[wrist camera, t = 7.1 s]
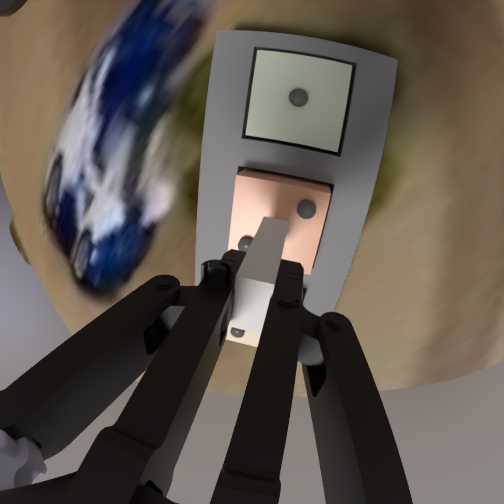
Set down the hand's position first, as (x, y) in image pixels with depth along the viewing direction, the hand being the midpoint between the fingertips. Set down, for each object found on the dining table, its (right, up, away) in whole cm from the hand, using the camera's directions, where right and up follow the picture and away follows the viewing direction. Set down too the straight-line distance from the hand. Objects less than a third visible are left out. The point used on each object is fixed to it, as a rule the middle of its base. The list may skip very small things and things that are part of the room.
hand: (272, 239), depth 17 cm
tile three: (+1, +2, +4) cm, 5 cm away
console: (+1, +3, +5) cm, 6 cm away
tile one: (+2, +10, +1) cm, 10 cm away
